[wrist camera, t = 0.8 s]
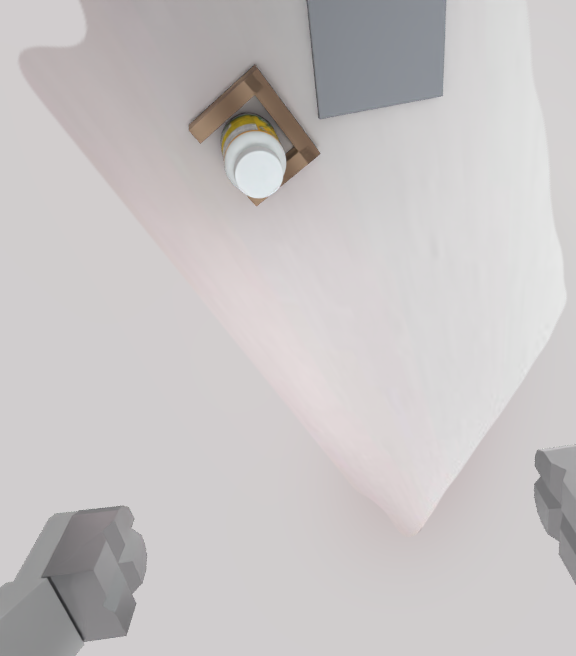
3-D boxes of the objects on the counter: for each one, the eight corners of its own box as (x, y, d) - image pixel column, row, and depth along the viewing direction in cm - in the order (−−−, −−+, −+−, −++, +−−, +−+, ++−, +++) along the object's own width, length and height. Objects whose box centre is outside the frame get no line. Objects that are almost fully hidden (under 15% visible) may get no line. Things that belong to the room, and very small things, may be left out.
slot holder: (254, 199, 53) (256, 206, 52) (188, 124, 48) (188, 130, 46) (316, 147, 51) (320, 153, 49) (254, 64, 46) (257, 68, 44)
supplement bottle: (211, 123, 48) (215, 154, 41) (265, 103, 48) (280, 130, 40) (232, 177, 52) (239, 215, 44) (283, 158, 51) (299, 193, 43)
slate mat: (303, -34, 42) (304, -35, 42) (445, -60, 43) (448, -60, 42) (318, 117, 49) (319, 119, 49) (440, 94, 50) (442, 96, 49)
